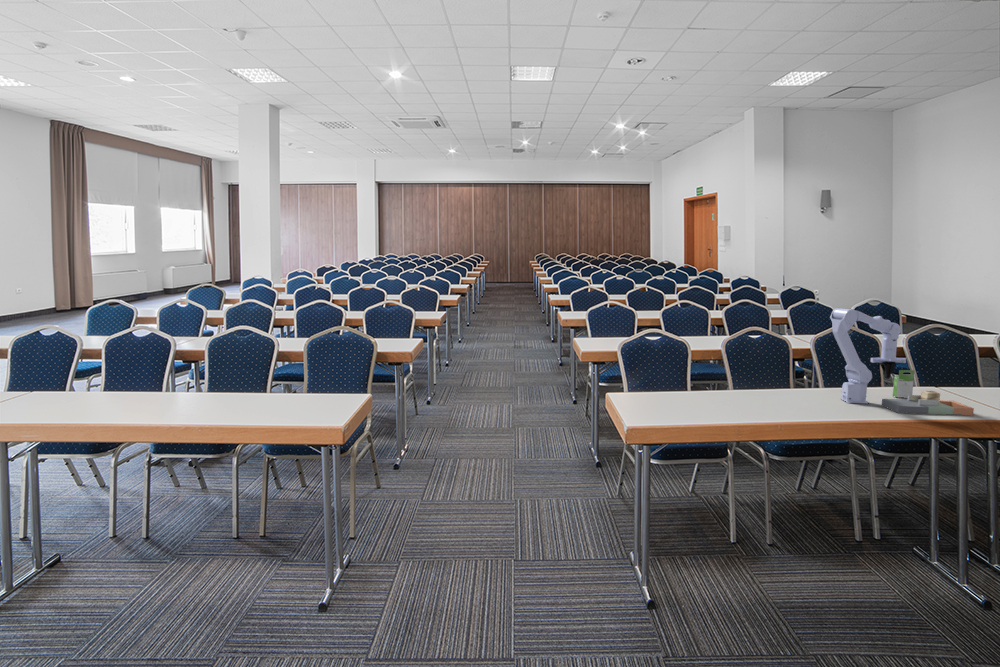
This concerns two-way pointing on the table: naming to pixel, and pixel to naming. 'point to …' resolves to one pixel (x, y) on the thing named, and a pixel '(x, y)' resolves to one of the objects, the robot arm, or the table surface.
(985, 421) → the table surface
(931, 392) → the maple block
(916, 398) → the corridor walls
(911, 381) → the ink box
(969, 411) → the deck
